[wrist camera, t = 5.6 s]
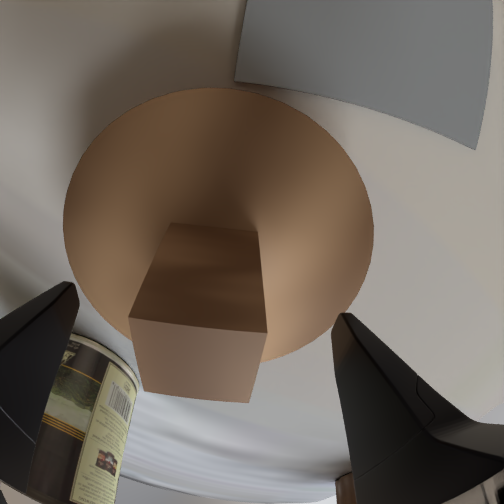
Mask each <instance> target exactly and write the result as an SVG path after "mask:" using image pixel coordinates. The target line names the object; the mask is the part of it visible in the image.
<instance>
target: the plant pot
mask: <svg viewBox="0 0 504 504" xmlns="http://www.w3.org/2000/svg"><path fill="white" fill-rule="evenodd" d="M354 481H355V480H354V479H353V473H352V472H351V473H349V474H347V475H345V476H342V477H341V478H340V479H339V480H336V482H335V486H336V497H337V504H357V502H356V495H355V487H354Z"/></svg>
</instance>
